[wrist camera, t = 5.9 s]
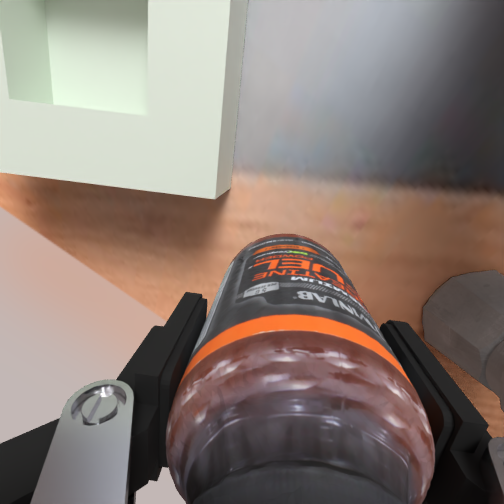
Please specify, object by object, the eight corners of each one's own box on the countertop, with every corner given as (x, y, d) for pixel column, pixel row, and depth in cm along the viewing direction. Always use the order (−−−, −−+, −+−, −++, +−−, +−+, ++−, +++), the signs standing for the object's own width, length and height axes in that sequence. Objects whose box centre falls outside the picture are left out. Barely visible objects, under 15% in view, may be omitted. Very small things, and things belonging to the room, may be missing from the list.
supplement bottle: (355, 236, 13) (700, 575, 3) (332, 343, 15) (473, 791, 5) (227, 222, 13) (56, 488, 3) (220, 330, 15) (104, 730, 5)
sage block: (253, -54, 19) (244, -179, 12) (230, 188, 24) (215, 199, 17) (20, -80, 20) (-123, -218, 12) (44, 164, 24) (-48, 166, 17)
